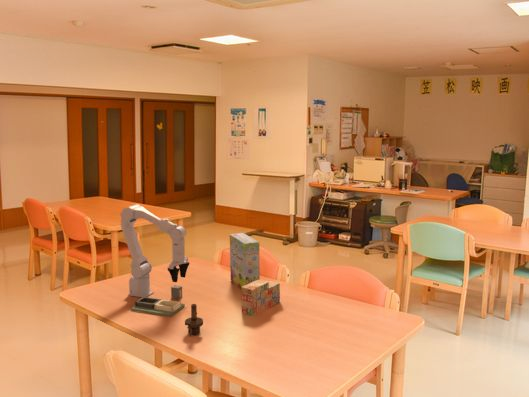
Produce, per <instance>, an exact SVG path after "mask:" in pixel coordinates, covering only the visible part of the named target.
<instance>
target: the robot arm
mask: <svg viewBox="0 0 529 397" xmlns="http://www.w3.org/2000/svg"><path fill="white" fill-rule="evenodd" d="M139 219H144V220H145V221H147V222H149V223H152V224H153V225H156V226H157V229H158V230H160V231H161V232H163V233H165V234H167V235H169V237H170V239H171V244H172V245H171V248H172V249H171V250H172V252H171V254H172V261H171V262H170V263H169V264H168V267H167V271H168V272H169V275H170V277H171V280H172V281H171V282H172V283H177V282H178V278H179V275H180V278H186V276H187V271H188V268H189V266H190V262H189V257H188V256H186V255H185V242H186V241H185V237H186V236H187V229H186V227H184V226H183V225H178V224H177V223H173V222H171V221H170V219H169V218H160V217H159V216H156V215H155V214H154V213H152V212H150V211H149V210H147V209H146V208H145V207H144V206H142V205H140V204H138V203H136V204H133V205H129V206H126V207H124V208H123V209H122V210H121V212H120V227H121V231H122V234H123V236H124V239H125V241H126V245H127V248H128V251H129V254H130V256H131V262H130V268H131V270H130V272H131V276H130V277H129V280H128V288H129V289H128V291H129V292H128V296H131V297H140V298H143V297H148V296H150V295H152V294H154V293H155V292H154V291H152V290H151V288H150V286H151V282H150V281H151V280H150V273H151V271H152V268H153V267H152V264H151V263H150V261H149V260H148V258H147V257H146V256H144V253H143V251H142V247H141V244H140V241H139V238H138V236H137V233H136V230H135V227H134V225H135V223H136V221H137V220H139Z"/></svg>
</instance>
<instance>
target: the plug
mask: <svg viewBox="0 0 529 397" xmlns="http://www.w3.org/2000/svg"><path fill="white" fill-rule="evenodd" d="M170 291H171V292H170V293H171V294H170V298H171V299H174V300H180V299H182V298H183V286H182V285H178V284H177V285H176V284H175V285H172V286H171V287H170Z"/></svg>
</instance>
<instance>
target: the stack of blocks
mask: <svg viewBox="0 0 529 397" xmlns="http://www.w3.org/2000/svg"><path fill="white" fill-rule="evenodd" d="M280 286H281V284H280V282H276V281H271V280H268V281H265V280H261V279H260V280H256V281H254V282H252V283H250V284H247V285H245V286H243V287H242V289H241V296H240V297H241V314H244V315H249V316H255V315H257V314H259V313H261V312H262V311H265V310H267V309H268V308H270V307H272V306H274V305H277V304H278V303H280V302H281V301H280V300H281V289H280Z"/></svg>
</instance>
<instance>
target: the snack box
mask: <svg viewBox="0 0 529 397" xmlns="http://www.w3.org/2000/svg"><path fill="white" fill-rule="evenodd" d="M228 236H229V257H230V259H229V261H230V281H231V282H232V283H233V284H234V285H236V286H237V288H239V289H240V290H242V287H243V286H245V285H247V284H250V283H252V282H254V281H256V280H261V279H260V278H261V277H260V272H261V271H260V268H261V267H260V241H259V240H256V239H255V238H253V237H251V236H249V235H247V234H246V233H244V232H239V233H229V235H228Z"/></svg>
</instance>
